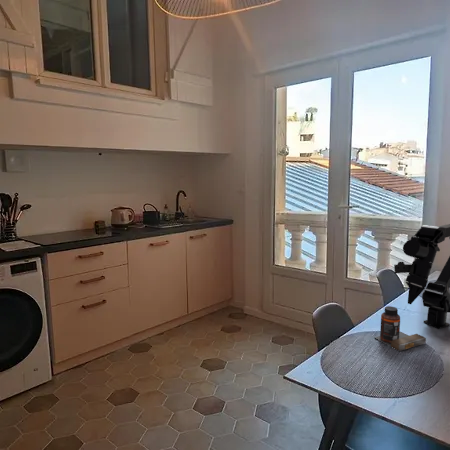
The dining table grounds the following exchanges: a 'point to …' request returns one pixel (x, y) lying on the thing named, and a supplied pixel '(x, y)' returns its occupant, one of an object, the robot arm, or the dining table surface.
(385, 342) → the front pad
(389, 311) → the supplement bottle
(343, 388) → the dining table surface
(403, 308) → the dining table surface
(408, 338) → the rail
